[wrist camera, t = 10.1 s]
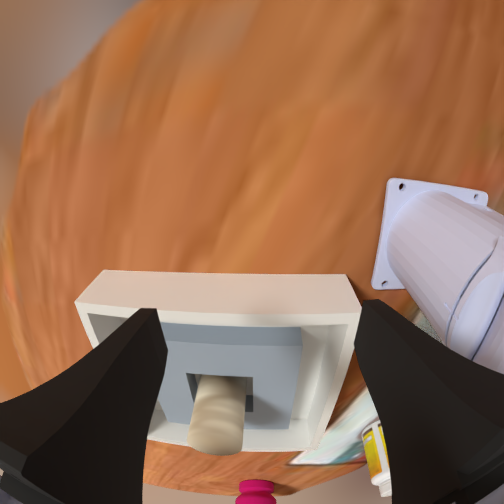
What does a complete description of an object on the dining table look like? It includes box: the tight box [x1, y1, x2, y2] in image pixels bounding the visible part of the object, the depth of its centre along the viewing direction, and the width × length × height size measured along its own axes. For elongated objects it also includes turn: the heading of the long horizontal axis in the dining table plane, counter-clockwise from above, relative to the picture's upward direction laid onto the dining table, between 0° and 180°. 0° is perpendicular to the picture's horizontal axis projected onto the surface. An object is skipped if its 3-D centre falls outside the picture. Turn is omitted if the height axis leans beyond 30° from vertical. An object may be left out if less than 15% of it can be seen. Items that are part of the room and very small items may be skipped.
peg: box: [187, 374, 247, 456], centre depth 20 cm, size 4×4×7 cm
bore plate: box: [158, 322, 303, 430], centre depth 22 cm, size 12×12×2 cm
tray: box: [75, 270, 362, 452], centre depth 21 cm, size 18×18×4 cm
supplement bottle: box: [362, 420, 392, 497], centre depth 24 cm, size 6×6×10 cm
